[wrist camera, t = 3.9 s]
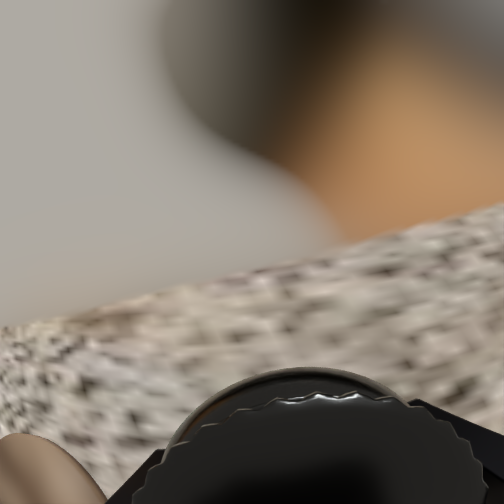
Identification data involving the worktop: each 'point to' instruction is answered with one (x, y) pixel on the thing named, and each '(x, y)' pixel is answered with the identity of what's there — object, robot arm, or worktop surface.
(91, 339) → the worktop surface
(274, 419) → the supplement bottle
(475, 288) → the worktop surface
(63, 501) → the walnut trivet
